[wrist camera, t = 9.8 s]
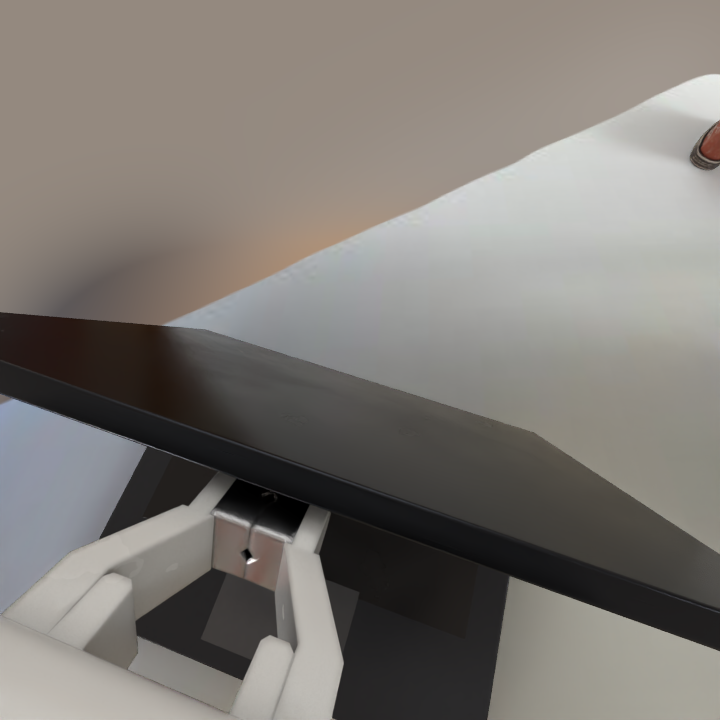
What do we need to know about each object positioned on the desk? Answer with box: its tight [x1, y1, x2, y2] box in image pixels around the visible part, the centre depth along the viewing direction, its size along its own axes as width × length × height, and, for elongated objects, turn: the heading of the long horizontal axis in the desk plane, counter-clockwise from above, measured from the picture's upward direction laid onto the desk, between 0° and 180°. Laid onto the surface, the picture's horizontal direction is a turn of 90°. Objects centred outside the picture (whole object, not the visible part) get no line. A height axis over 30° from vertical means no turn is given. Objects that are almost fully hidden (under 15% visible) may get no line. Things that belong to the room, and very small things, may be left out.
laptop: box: [99, 447, 510, 720], centre depth 23 cm, size 18×25×2 cm
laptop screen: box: [0, 312, 720, 651], centre depth 17 cm, size 18×25×1 cm
